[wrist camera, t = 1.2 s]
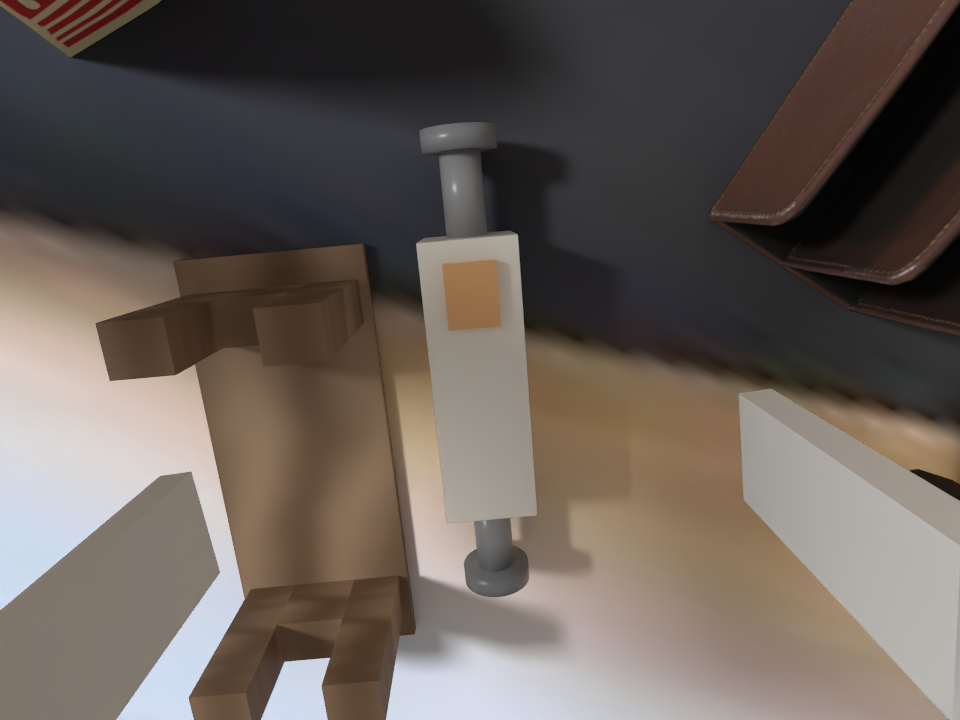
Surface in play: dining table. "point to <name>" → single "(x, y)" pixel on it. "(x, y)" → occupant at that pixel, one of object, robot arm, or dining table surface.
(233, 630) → the cradle rack
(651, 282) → the dining table surface
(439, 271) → the white block with pegs
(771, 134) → the letter holder
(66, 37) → the milk carton
